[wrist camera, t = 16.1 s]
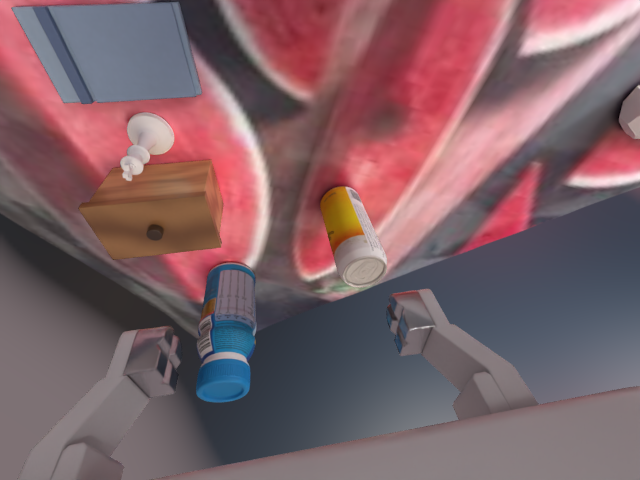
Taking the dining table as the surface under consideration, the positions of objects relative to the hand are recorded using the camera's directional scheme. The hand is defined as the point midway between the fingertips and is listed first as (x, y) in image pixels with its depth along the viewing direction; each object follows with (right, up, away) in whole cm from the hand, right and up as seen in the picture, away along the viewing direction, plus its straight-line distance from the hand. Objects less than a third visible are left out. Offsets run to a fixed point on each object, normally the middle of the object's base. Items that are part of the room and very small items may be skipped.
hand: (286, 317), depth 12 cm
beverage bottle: (-14, -3, +43) cm, 45 cm away
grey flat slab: (-19, +22, +19) cm, 34 cm away
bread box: (-19, +10, +29) cm, 36 cm away
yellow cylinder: (+4, +9, +35) cm, 37 cm away
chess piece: (-19, +16, +25) cm, 35 cm away
